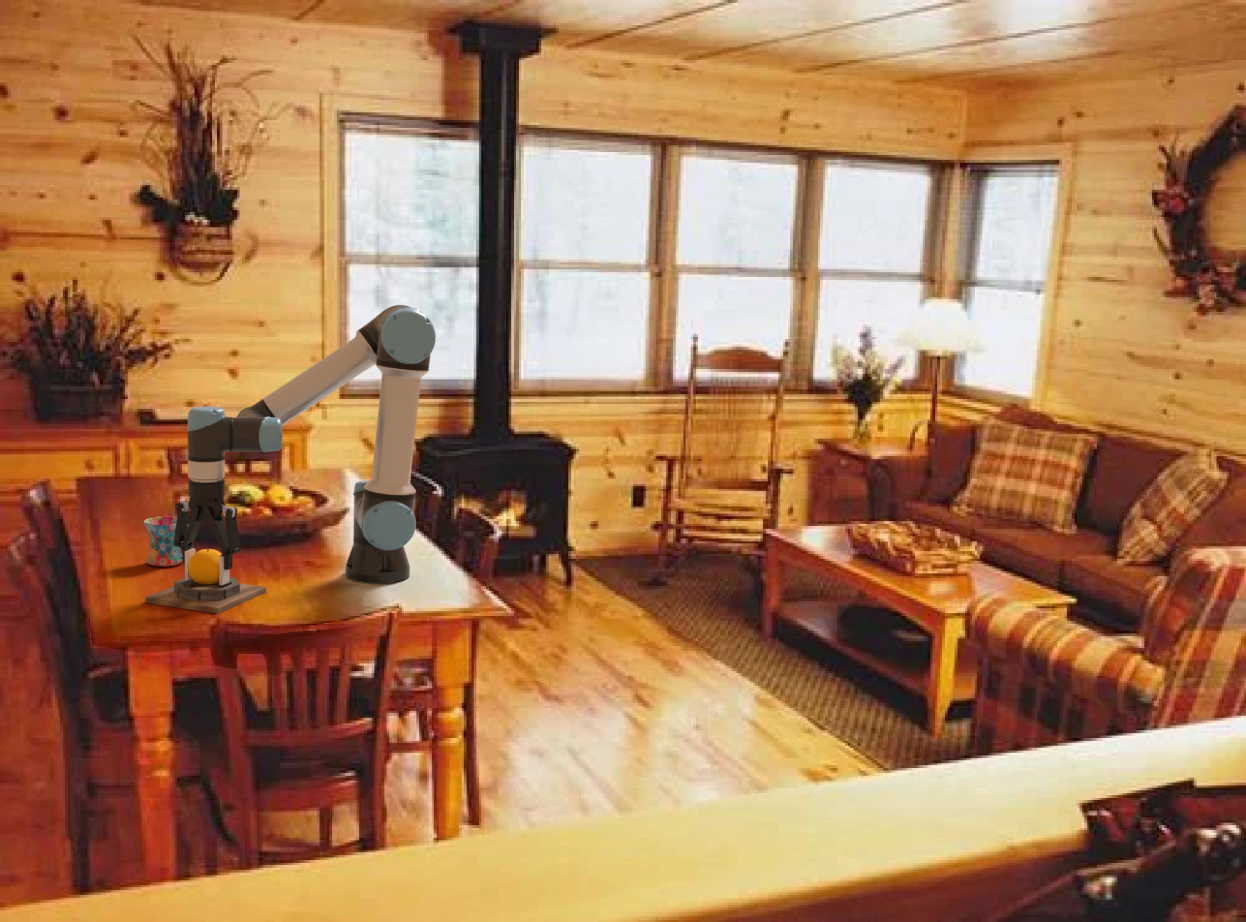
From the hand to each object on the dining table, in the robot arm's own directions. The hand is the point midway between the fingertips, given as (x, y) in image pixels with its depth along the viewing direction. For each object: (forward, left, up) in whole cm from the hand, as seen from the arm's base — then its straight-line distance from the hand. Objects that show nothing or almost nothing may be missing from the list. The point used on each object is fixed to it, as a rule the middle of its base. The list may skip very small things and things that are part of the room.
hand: (207, 581), depth 270 cm
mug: (+24, -20, -4) cm, 32 cm away
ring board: (0, 0, -4) cm, 4 cm away
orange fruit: (0, 0, -1) cm, 1 cm away
